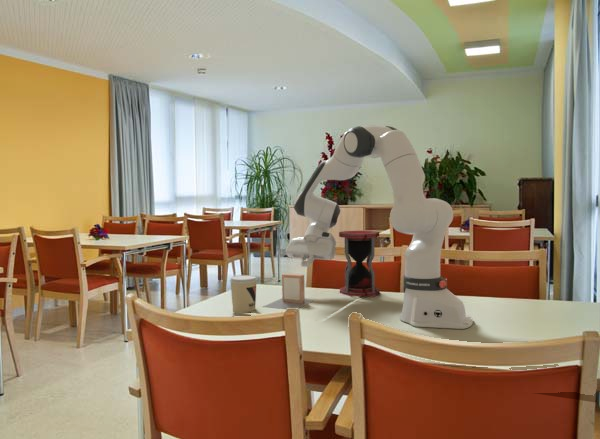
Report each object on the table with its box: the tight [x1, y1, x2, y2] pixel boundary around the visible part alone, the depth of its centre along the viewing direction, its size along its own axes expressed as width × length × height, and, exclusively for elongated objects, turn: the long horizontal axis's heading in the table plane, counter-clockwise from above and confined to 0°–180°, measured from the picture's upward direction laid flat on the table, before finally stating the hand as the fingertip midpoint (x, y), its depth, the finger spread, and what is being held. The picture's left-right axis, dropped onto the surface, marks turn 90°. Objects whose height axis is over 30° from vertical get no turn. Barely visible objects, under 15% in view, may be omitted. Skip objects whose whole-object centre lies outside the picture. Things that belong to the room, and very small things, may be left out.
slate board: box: [262, 297, 314, 310], centre depth 187 cm, size 13×16×1 cm
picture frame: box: [281, 273, 306, 303], centre depth 190 cm, size 8×3×10 cm, turn 64°
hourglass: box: [338, 230, 381, 298], centre depth 205 cm, size 16×16×25 cm
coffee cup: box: [229, 274, 258, 315], centre depth 180 cm, size 9×9×12 cm
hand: (304, 265), depth 199 cm, fingers closed
